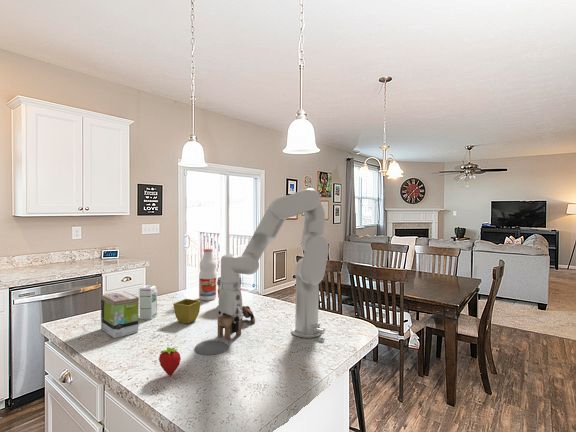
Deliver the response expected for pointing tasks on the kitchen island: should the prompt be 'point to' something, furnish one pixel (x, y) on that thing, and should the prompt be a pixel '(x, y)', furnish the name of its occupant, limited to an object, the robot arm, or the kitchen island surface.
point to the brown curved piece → (248, 313)
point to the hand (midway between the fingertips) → (229, 329)
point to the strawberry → (169, 360)
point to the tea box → (119, 314)
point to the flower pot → (187, 310)
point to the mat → (211, 347)
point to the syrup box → (148, 302)
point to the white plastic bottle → (207, 277)
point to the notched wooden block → (227, 326)
